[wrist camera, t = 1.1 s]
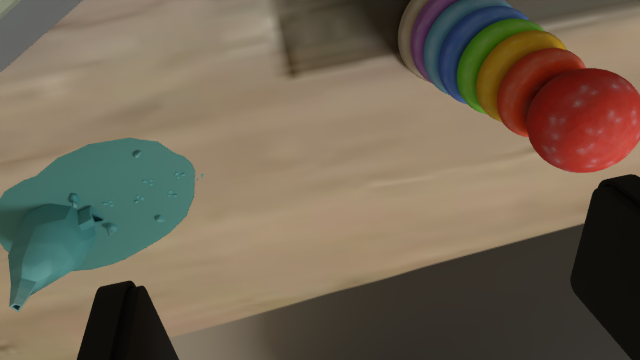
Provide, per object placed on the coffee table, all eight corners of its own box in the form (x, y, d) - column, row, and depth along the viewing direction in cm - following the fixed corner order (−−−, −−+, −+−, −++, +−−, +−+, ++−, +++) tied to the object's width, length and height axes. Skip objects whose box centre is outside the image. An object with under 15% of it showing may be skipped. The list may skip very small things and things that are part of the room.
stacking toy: (383, 73, 37) (503, 211, 22) (409, -36, 33) (578, 40, 18) (472, 81, 39) (640, 214, 24) (506, -20, 35) (736, 60, 20)
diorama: (241, 205, 42) (246, 271, 35) (52, 298, 44) (21, 380, 37) (160, 93, 35) (146, 147, 28) (-59, 208, 37) (-125, 287, 30)
